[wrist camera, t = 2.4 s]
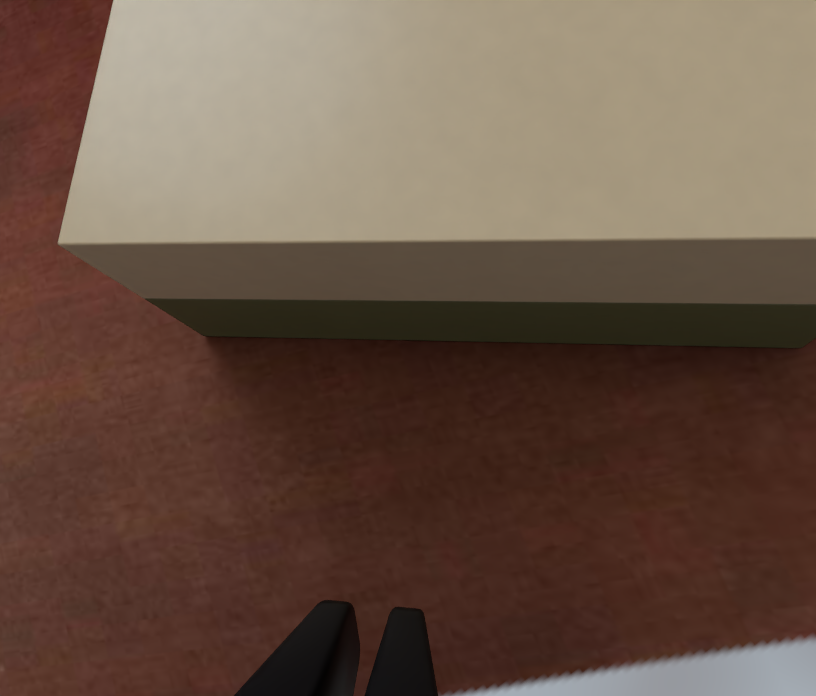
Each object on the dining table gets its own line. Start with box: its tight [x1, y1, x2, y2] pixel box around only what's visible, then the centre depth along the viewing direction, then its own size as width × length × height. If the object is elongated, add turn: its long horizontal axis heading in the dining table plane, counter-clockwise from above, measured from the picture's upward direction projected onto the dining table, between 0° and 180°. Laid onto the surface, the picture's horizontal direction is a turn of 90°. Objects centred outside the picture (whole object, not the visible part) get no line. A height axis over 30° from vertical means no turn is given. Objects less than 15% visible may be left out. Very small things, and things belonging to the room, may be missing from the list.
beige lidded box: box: [58, 0, 816, 348], centre depth 21 cm, size 16×20×8 cm
